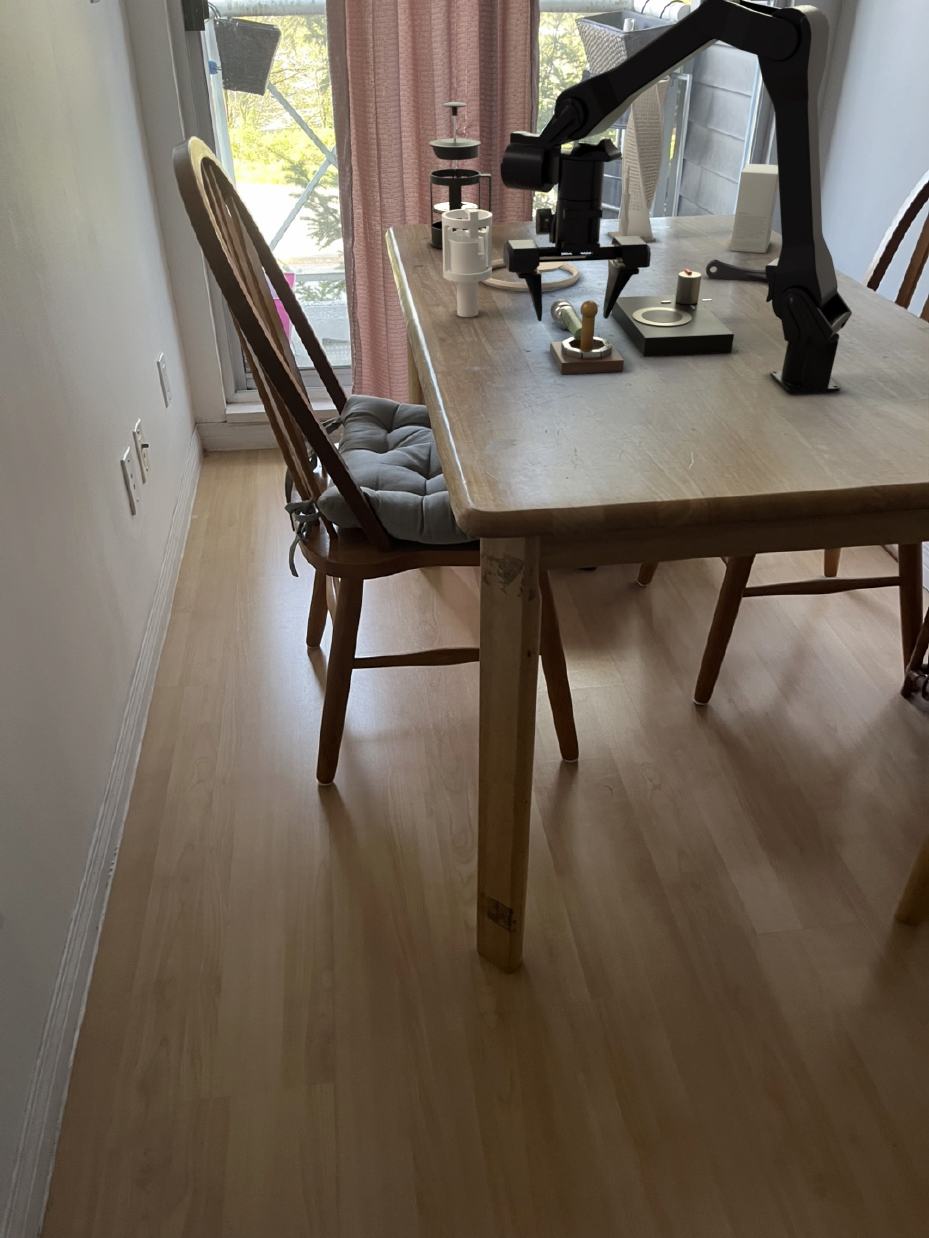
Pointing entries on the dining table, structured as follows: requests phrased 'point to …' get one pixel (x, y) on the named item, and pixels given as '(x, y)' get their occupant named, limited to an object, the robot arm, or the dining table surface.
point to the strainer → (467, 254)
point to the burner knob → (688, 287)
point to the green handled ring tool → (576, 332)
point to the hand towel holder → (542, 268)
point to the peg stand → (577, 365)
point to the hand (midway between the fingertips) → (572, 319)
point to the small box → (755, 208)
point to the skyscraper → (642, 162)
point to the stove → (673, 328)
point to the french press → (454, 176)
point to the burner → (662, 316)
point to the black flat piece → (733, 272)
